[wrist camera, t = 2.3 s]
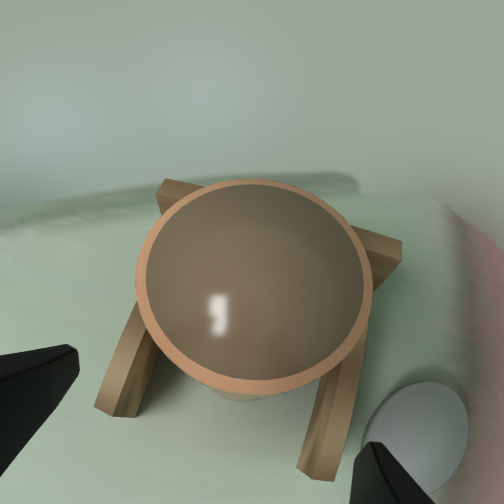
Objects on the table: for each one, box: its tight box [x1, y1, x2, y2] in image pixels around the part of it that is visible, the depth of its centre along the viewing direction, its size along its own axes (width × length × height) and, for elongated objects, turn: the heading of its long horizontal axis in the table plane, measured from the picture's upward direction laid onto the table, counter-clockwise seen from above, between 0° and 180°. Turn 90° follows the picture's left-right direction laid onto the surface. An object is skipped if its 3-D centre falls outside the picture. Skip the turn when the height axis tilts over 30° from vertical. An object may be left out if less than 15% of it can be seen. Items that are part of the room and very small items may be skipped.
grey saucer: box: [361, 381, 469, 495], centre depth 15 cm, size 9×9×1 cm
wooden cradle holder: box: [94, 179, 402, 482], centre depth 15 cm, size 12×13×8 cm
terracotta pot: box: [135, 179, 373, 402], centre depth 13 cm, size 6×6×12 cm
